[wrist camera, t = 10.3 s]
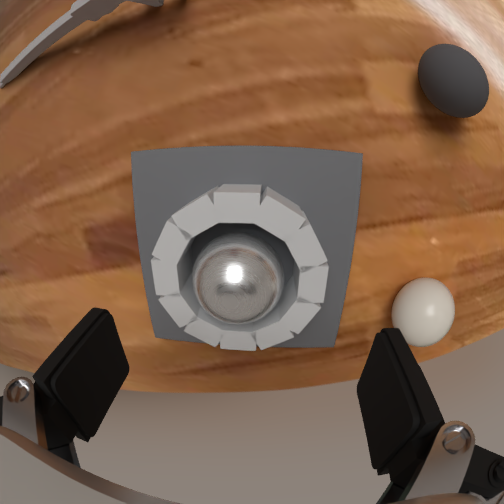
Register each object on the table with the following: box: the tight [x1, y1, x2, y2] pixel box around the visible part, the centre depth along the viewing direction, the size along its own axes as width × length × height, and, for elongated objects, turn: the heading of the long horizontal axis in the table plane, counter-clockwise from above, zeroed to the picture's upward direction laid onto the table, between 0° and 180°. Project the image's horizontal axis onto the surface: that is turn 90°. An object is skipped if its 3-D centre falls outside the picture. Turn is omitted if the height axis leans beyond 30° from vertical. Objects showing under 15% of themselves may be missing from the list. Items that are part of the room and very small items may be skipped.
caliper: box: [0, 0, 164, 88], centre depth 10 cm, size 20×1×6 cm, turn 94°
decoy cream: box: [391, 278, 455, 347], centre depth 16 cm, size 5×5×5 cm
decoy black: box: [418, 44, 489, 118], centre depth 10 cm, size 5×5×5 cm
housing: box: [131, 146, 363, 351], centre depth 16 cm, size 14×14×4 cm
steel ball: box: [192, 232, 284, 324], centre depth 15 cm, size 5×5×5 cm
